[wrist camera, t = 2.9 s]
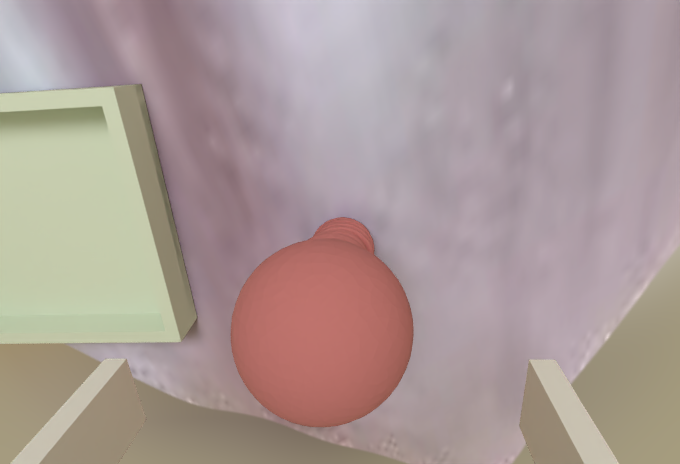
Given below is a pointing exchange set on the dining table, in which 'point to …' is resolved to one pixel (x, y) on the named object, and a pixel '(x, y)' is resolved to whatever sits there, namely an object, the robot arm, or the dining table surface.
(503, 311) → the dining table surface
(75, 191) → the tray
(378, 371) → the light bulb
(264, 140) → the dining table surface
